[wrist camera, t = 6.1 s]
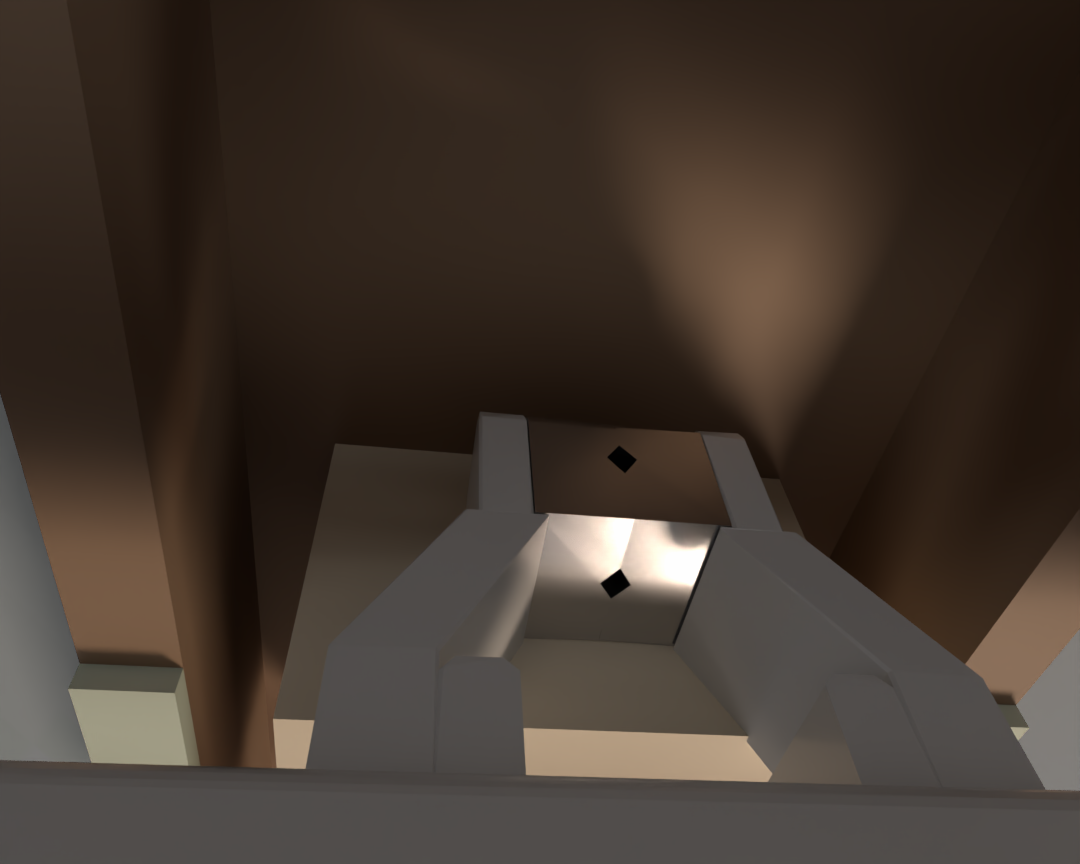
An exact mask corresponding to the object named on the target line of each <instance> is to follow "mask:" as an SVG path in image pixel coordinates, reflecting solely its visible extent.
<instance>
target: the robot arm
mask: <svg viewBox="0 0 1080 864" xmlns="http://www.w3.org/2000/svg"><path fill="white" fill-rule="evenodd" d="M524 638H526V639H569V640H601V641H614V642H627V643H640V644H653V645H666V646H674V648H673V650H674V651H675V652H676V653H677V654H678V655H679V656H680V658H681V659H682V660H683V661H684V662H685V663H686V665H687V666H688V667H689V668H690V669H691V670H692V671H693V673H694V674H695V675H696V676H697V677H698V678H699V680H700V681H701V682H702V683H703V684H704V685H705V686H706V688H707V689H708V690H709V691H710V692H711V693H712V695H713V696H714V697H715V698H716V699H717V700H718V701H719V703H720V704H721V705H722V706H723V707H724V708H725V710H726V711H727V712H728V713H729V714H730V715H731V716H732V718H733V719H734V720H735V721H736V722H737V723H738V725H739V726H740V727H741V728H742V729H743V730H744V731H745V733H746V734H747V735H748V736H749V737H748V739H747V743H748V744H749V745H750V746H751V748H752V749H753V750H754V751H755V753H756V754H757V755H758V756H759V758H760V759H761V760H762V761H763V763H764V764H765V765H766V766H767V768H768V769H769V770H770V771H771V773H772V776H771V777H770V779H769V781H768V782H748V781H714V780H679V779H644V778H610V777H575V776H540V775H526V765H525V747H524V730H523V712H522V694H521V677H520V670H519V669H517V668H516V667H515V666H513V665H512V664H511V663H510V661H511V660H512V658H513V657H514V655H515V654H516V652H517V651H518V649H519V648H520V646H521V645H522V643H523V640H524ZM0 864H1080V791H1070V790H1045V788H1044V786H1043V784H1042V782H1041V781H1040V779H1039V777H1038V775H1037V774H1036V772H1035V770H1034V768H1033V766H1032V765H1031V763H1030V761H1029V759H1028V758H1027V756H1026V754H1025V752H1024V751H1023V749H1022V747H1021V745H1020V743H1019V742H1018V740H1017V738H1016V736H1015V735H1014V733H1013V731H1012V729H1011V727H1010V726H1009V724H1008V722H1007V720H1006V719H1005V717H1004V715H1003V713H1002V712H1001V710H1000V708H999V706H998V704H997V703H996V701H995V699H994V697H993V696H992V694H991V692H990V690H989V689H988V687H987V685H986V683H985V681H984V680H983V678H982V677H981V676H979V675H978V674H977V673H975V672H974V671H973V670H972V669H970V668H969V667H968V666H966V665H965V664H964V663H963V662H961V661H960V660H959V659H958V658H956V657H955V656H954V655H952V654H951V653H950V652H949V651H947V650H946V649H945V648H943V647H942V646H941V645H940V644H938V643H937V642H936V641H934V640H933V639H932V638H931V637H929V636H928V635H927V634H925V633H924V632H923V631H922V630H920V629H919V628H918V627H917V626H915V625H914V624H913V623H911V622H910V621H909V620H908V619H906V618H905V617H904V616H902V615H901V614H900V613H899V612H897V611H896V610H895V609H893V608H892V607H891V606H890V605H888V604H887V603H886V602H884V601H883V600H882V599H881V598H879V597H878V596H877V595H876V594H874V593H873V592H872V591H870V590H869V589H868V588H867V587H865V586H864V585H863V584H861V583H860V582H859V581H858V580H856V579H855V578H854V577H852V576H851V575H850V574H849V573H847V572H846V571H845V570H843V569H842V568H841V567H840V566H838V565H837V564H836V563H835V562H833V561H832V560H831V559H829V558H828V557H827V556H826V555H824V554H823V553H822V552H820V551H819V550H818V549H817V548H815V547H814V546H813V545H811V544H810V543H809V542H808V541H806V540H805V539H804V538H802V537H801V536H800V535H799V534H797V533H796V532H784V531H783V530H782V527H781V525H780V522H779V520H778V518H777V515H776V513H775V511H774V508H773V506H772V503H771V501H770V499H769V496H768V494H767V492H766V489H765V487H764V484H763V482H762V480H761V477H760V475H759V472H758V470H757V468H756V465H755V463H754V461H753V458H752V456H751V453H750V451H749V449H748V446H747V444H746V442H745V439H744V438H743V437H742V436H740V435H739V434H738V433H721V432H703V431H695V432H684V431H672V430H659V429H646V428H633V427H621V426H612V425H608V424H599V423H589V422H580V421H571V420H562V419H552V418H543V417H534V416H525V417H524V416H523V415H513V414H502V413H491V412H480V413H479V417H478V420H477V426H476V433H475V441H474V448H473V456H472V463H471V471H470V478H469V486H468V494H467V504H466V509H465V510H464V511H463V512H462V513H461V514H460V515H459V516H458V517H457V518H456V519H455V520H454V521H453V522H452V523H451V524H450V525H449V526H448V527H447V528H446V529H445V530H444V531H443V532H442V533H441V534H440V535H439V536H438V537H437V538H436V539H435V540H434V541H433V542H432V543H431V544H430V545H429V546H428V547H427V548H426V549H425V550H424V551H423V552H422V553H421V554H420V555H419V556H418V557H417V558H416V559H415V560H414V561H413V562H412V563H411V564H410V565H409V566H408V567H407V568H406V569H405V570H404V571H403V572H402V573H401V574H400V575H399V576H398V577H397V578H396V579H395V580H394V581H393V582H392V583H391V584H390V585H389V586H388V587H387V588H386V589H385V590H384V591H383V592H381V593H380V594H379V595H378V596H377V597H376V598H375V599H374V600H373V601H372V602H371V603H370V604H369V605H368V606H367V607H366V608H365V609H364V610H363V611H362V612H361V613H360V614H359V615H358V616H357V617H356V618H355V619H354V620H353V621H352V622H351V623H350V624H349V625H348V626H347V627H346V628H345V629H344V630H343V631H342V632H341V633H340V634H339V635H338V636H337V637H336V638H335V639H334V640H333V641H332V642H331V643H330V644H329V645H328V651H327V656H326V661H325V667H324V672H323V677H322V683H321V688H320V693H319V699H318V704H317V709H316V715H315V720H314V725H313V731H312V736H311V741H310V747H309V752H308V758H307V763H306V768H305V769H294V768H258V767H223V766H188V765H153V764H117V763H82V762H47V761H11V760H0Z"/></svg>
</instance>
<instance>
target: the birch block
mask: <svg viewBox="0 0 1080 864" xmlns="http://www.w3.org/2000/svg"><path fill="white" fill-rule="evenodd" d="M472 456H473V455H471V454H459V453H447V452H434V451H422V450H409V449H397V448H384V447H372V446H359V445H347V444H335V446H334V451H333V455H332V460H331V464H330V469H329V473H328V477H327V482H326V486H325V491H324V495H323V500H322V504H321V508H320V513H319V517H318V522H317V526H316V531H315V535H314V539H313V544H312V548H311V553H310V557H309V562H308V566H307V570H306V575H305V579H304V584H303V588H302V592H301V597H300V601H299V606H298V610H297V615H296V619H295V623H294V628H293V632H292V637H291V641H290V646H289V650H288V654H287V659H286V663H285V668H284V672H283V677H282V681H281V685H280V690H279V694H278V699H277V703H276V708H275V712H274V716H273V727H274V740H275V753H276V766H277V768H294V769H305V768H306V763H307V758H308V752H309V747H310V741H311V736H312V731H313V725H314V720H315V715H316V709H317V704H318V699H319V693H320V688H321V683H322V677H323V672H324V667H325V661H326V656H327V651H328V645H329V644H330V643H331V642H332V641H333V640H334V639H335V638H336V637H337V636H338V635H339V634H340V633H341V632H342V631H343V630H344V629H345V628H346V627H347V626H348V625H349V624H350V623H351V622H352V621H353V620H354V619H355V618H356V617H357V616H358V615H359V614H360V613H361V612H362V611H363V610H364V609H365V608H366V607H367V606H368V605H369V604H370V603H371V602H372V601H373V600H374V599H375V598H376V597H377V596H378V595H379V594H380V593H381V592H383V591H384V590H385V589H386V588H387V587H388V586H389V585H390V584H391V583H392V582H393V581H394V580H395V579H396V578H397V577H398V576H399V575H400V574H401V573H402V572H403V571H404V570H405V569H406V568H407V567H408V566H409V565H410V564H411V563H412V562H413V561H414V560H415V559H416V558H417V557H418V556H419V555H420V554H421V553H422V552H423V551H424V550H425V549H426V548H427V547H428V546H429V545H430V544H431V543H432V542H433V541H434V540H435V539H436V538H437V537H438V536H439V535H440V534H441V533H442V532H443V531H444V530H445V529H446V528H447V527H448V526H449V525H450V524H451V523H452V522H453V521H454V520H455V519H456V518H457V517H458V516H459V515H460V514H461V513H462V512H463V511H464V510H465V509H466V504H467V494H468V486H469V478H470V471H471V463H472ZM761 480H762V482H763V484H764V487H765V489H766V492H767V494H768V496H769V499H770V501H771V503H772V506H773V508H774V511H775V513H776V515H777V518H778V520H779V522H780V525H781V527H782V530H783V531H784V532H796V533H797V534H799V535H800V536H801V537H802V538H804V539H805V537H804V535H803V532H802V530H801V528H800V525H799V523H798V521H797V519H796V516H795V514H794V512H793V509H792V507H791V505H790V502H789V500H788V498H787V496H786V493H785V491H784V489H783V486H782V484H781V482H780V479H770V478H761ZM805 540H806V539H805ZM673 648H674V646H666V645H653V644H640V643H627V642H614V641H601V640H569V639H526V638H524V640H523V643H522V645H521V646H520V648H519V649H518V651H517V652H516V654H515V655H514V657H513V658H512V660H511V661H510V663H511V664H512V665H513V666H515V667H516V668H517V669H519V670H520V677H521V694H522V712H523V730H524V747H525V765H526V775H540V776H575V777H610V778H644V779H679V780H714V781H748V782H768V781H769V779H770V777H771V776H772V773H771V771H770V770H769V769H768V768H767V766H766V765H765V764H764V763H763V761H762V760H761V759H760V758H759V756H758V755H757V754H756V753H755V751H754V750H753V749H752V748H751V746H750V745H749V744H748V743H747V739H748V737H749V736H748V735H747V734H746V733H745V731H744V730H743V729H742V728H741V727H740V726H739V725H738V723H737V722H736V721H735V720H734V719H733V718H732V716H731V715H730V714H729V713H728V712H727V711H726V710H725V708H724V707H723V706H722V705H721V704H720V703H719V701H718V700H717V699H716V698H715V697H714V696H713V695H712V693H711V692H710V691H709V690H708V689H707V688H706V686H705V685H704V684H703V683H702V682H701V681H700V680H699V678H698V677H697V676H696V675H695V674H694V673H693V671H692V670H691V669H690V668H689V667H688V666H687V665H686V663H685V662H684V661H683V660H682V659H681V658H680V656H679V655H678V654H677V653H676V652H675V651H674V650H673Z"/></svg>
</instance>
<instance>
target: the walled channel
mask: <svg viewBox="0 0 1080 864" xmlns="http://www.w3.org/2000/svg"><path fill="white" fill-rule="evenodd" d="M0 394H1V397H2V400H3V404H4V407H5V411H6V414H7V417H8V421H9V424H10V428H11V431H12V434H13V438H14V441H15V445H16V448H17V451H18V455H19V458H20V462H21V465H22V468H23V472H24V475H25V479H26V482H27V485H28V489H29V492H30V496H31V499H32V502H33V506H34V509H35V513H36V516H37V519H38V523H39V526H40V530H41V533H42V536H43V540H44V543H45V547H46V550H47V553H48V557H49V560H50V564H51V567H52V570H53V574H54V577H55V581H56V584H57V587H58V591H59V594H60V598H61V601H62V604H63V608H64V611H65V615H66V618H67V621H68V625H69V628H70V632H71V635H72V638H73V642H74V645H75V649H76V652H77V655H78V659H79V662H80V664H79V666H78V669H77V671H76V673H75V675H74V677H73V679H72V682H71V684H70V686H69V688H68V690H69V693H70V696H71V699H72V703H73V706H74V709H75V712H76V715H77V718H78V721H79V725H80V728H81V731H82V734H83V737H84V740H85V744H86V747H87V750H88V753H89V756H90V759H91V762H92V763H117V764H153V765H188V766H223V767H258V768H277V766H276V753H275V740H274V727H273V716H274V712H275V708H276V703H277V699H278V694H279V690H280V685H281V681H282V677H283V672H284V668H285V663H286V659H287V654H288V650H289V646H290V641H291V637H292V632H293V628H294V623H295V619H296V615H297V610H298V606H299V601H300V597H301V592H302V588H303V584H304V579H305V575H306V570H307V566H308V562H309V557H310V553H311V548H312V544H313V539H314V535H315V531H316V526H317V522H318V517H319V513H320V508H321V504H322V500H323V495H324V491H325V486H326V482H327V477H328V473H329V469H330V464H331V460H332V455H333V451H334V446H335V444H347V445H359V446H372V447H384V448H397V449H409V450H422V451H434V452H447V453H459V454H471V455H473V448H474V441H475V433H476V426H477V420H478V417H479V413H480V412H491V413H502V414H513V415H523V416H524V417H525V416H534V417H543V418H552V419H562V420H571V421H580V422H589V423H599V424H608V425H612V426H621V427H633V428H646V429H659V430H672V431H684V432H695V431H703V432H721V433H738V434H739V435H740V436H742V437H743V438H744V439H745V442H746V444H747V446H748V449H749V451H750V453H751V456H752V458H753V461H754V463H755V465H756V468H757V470H758V472H759V475H760V477H761V478H770V479H780V482H781V484H782V486H783V489H784V491H785V493H786V496H787V498H788V500H789V502H790V505H791V507H792V509H793V512H794V514H795V516H796V519H797V521H798V523H799V525H800V528H801V530H802V532H803V535H804V537H805V539H806V541H808V542H809V543H810V544H811V545H813V546H814V547H815V548H817V549H818V550H819V551H820V552H822V553H823V554H824V555H826V556H827V557H828V558H829V559H831V560H832V561H833V562H835V563H836V564H837V565H838V566H840V567H841V568H842V569H843V570H845V571H846V572H847V573H849V574H850V575H851V576H852V577H854V578H855V579H856V580H858V581H859V582H860V583H861V584H863V585H864V586H865V587H867V588H868V589H869V590H870V591H872V592H873V593H874V594H876V595H877V596H878V597H879V598H881V599H882V600H883V601H884V602H886V603H887V604H888V605H890V606H891V607H892V608H893V609H895V610H896V611H897V612H899V613H900V614H901V615H902V616H904V617H905V618H906V619H908V620H909V621H910V622H911V623H913V624H914V625H915V626H917V627H918V628H919V629H920V630H922V631H923V632H924V633H925V634H927V635H928V636H929V637H931V638H932V639H933V640H934V641H936V642H937V643H938V644H940V645H941V646H942V647H943V648H945V649H946V650H947V651H949V652H950V653H951V654H952V655H954V656H955V657H956V658H958V659H959V660H960V661H961V662H963V663H964V664H965V665H966V666H968V667H969V668H970V669H972V670H973V671H974V672H975V673H977V674H978V675H979V676H981V677H982V678H983V680H984V681H985V683H986V685H987V687H988V689H989V690H990V692H991V694H992V696H993V697H994V699H995V701H996V703H997V704H998V706H999V708H1000V710H1001V712H1002V713H1003V715H1004V717H1005V719H1006V720H1007V722H1008V724H1009V726H1010V727H1011V729H1012V731H1013V733H1014V735H1015V736H1016V738H1017V740H1019V739H1020V738H1021V737H1022V735H1023V734H1024V733H1025V732H1026V731H1027V730H1028V729H1029V727H1028V725H1027V723H1026V722H1025V720H1024V718H1023V717H1022V715H1021V713H1020V711H1019V710H1018V708H1017V706H1016V704H1017V703H1018V702H1019V701H1020V700H1021V698H1022V697H1023V696H1024V695H1025V694H1026V692H1027V691H1028V690H1029V689H1030V688H1031V686H1032V685H1033V684H1034V683H1035V682H1036V680H1037V679H1038V678H1039V677H1040V676H1041V674H1042V673H1043V672H1044V671H1045V670H1046V668H1047V667H1048V666H1049V665H1050V664H1051V663H1052V661H1053V660H1054V659H1055V658H1056V657H1057V655H1058V654H1059V653H1060V652H1061V651H1062V649H1063V648H1064V647H1065V646H1066V645H1067V643H1068V642H1069V641H1070V640H1071V639H1072V637H1073V636H1074V635H1075V634H1076V633H1077V631H1078V630H1079V629H1080V0H0Z"/></svg>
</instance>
